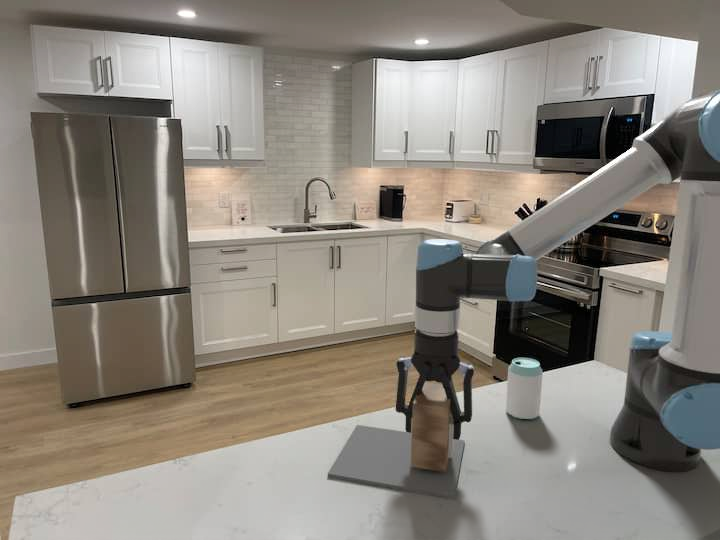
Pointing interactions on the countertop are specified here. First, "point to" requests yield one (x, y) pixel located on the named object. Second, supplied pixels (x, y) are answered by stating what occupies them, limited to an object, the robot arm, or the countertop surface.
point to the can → (524, 388)
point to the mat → (393, 463)
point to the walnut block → (430, 428)
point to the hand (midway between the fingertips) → (432, 450)
